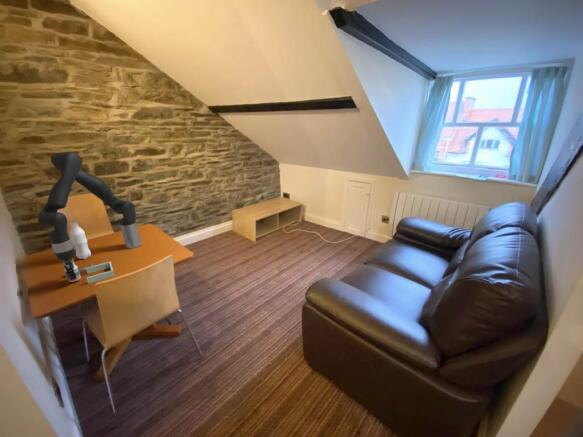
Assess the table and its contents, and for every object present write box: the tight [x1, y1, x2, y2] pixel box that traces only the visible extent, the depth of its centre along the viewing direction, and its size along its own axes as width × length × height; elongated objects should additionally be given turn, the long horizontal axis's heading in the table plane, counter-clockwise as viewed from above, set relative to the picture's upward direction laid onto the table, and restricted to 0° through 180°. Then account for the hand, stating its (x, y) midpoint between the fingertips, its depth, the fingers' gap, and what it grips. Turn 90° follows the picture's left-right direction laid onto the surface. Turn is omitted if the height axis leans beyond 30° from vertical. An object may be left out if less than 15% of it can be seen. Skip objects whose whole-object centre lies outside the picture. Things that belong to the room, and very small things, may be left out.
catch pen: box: [85, 261, 116, 284], centre depth 138 cm, size 12×13×4 cm
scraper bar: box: [64, 262, 95, 279], centre depth 139 cm, size 13×6×3 cm, turn 130°
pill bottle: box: [63, 261, 82, 283], centre depth 130 cm, size 5×5×10 cm
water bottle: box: [69, 220, 92, 260], centre depth 151 cm, size 7×7×25 cm
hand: (73, 275), depth 131 cm, fingers closed on pill bottle, 5 cm apart
